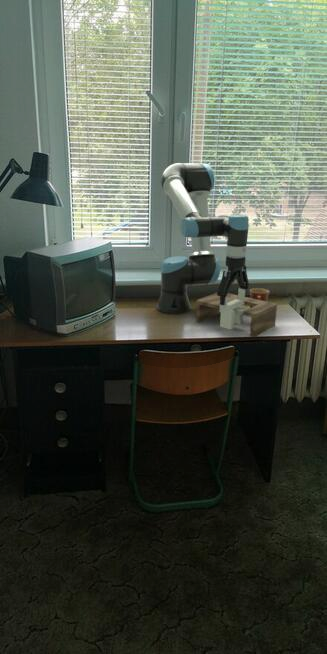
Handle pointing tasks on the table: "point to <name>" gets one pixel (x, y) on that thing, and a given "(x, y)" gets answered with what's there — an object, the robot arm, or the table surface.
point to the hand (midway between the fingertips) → (232, 308)
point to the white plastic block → (232, 314)
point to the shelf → (240, 311)
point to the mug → (259, 294)
